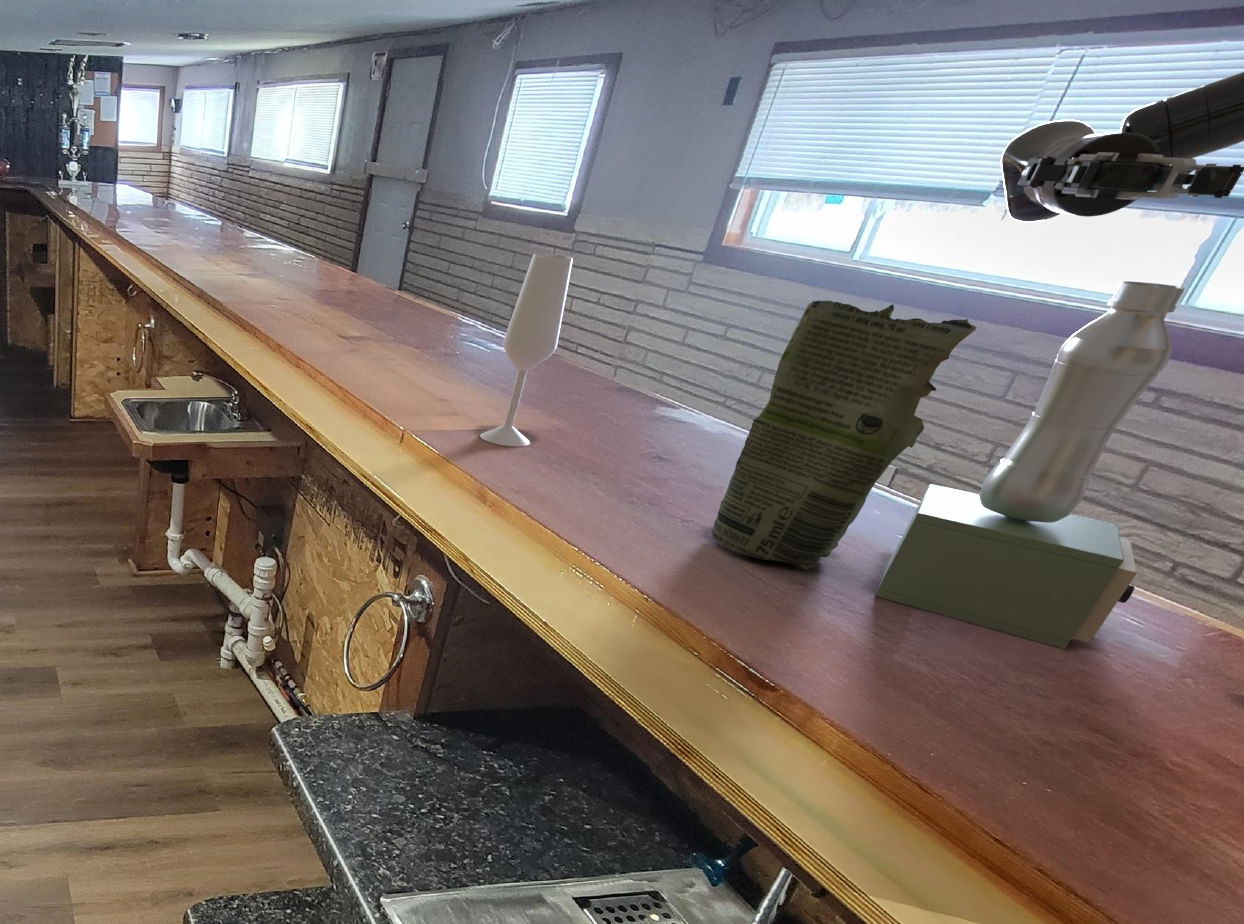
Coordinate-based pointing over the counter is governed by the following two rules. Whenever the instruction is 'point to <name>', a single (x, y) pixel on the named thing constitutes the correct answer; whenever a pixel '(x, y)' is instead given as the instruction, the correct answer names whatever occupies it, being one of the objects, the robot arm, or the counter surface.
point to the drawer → (1110, 594)
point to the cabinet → (1002, 567)
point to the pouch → (830, 429)
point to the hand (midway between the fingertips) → (1152, 178)
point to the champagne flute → (533, 331)
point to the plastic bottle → (1083, 405)
